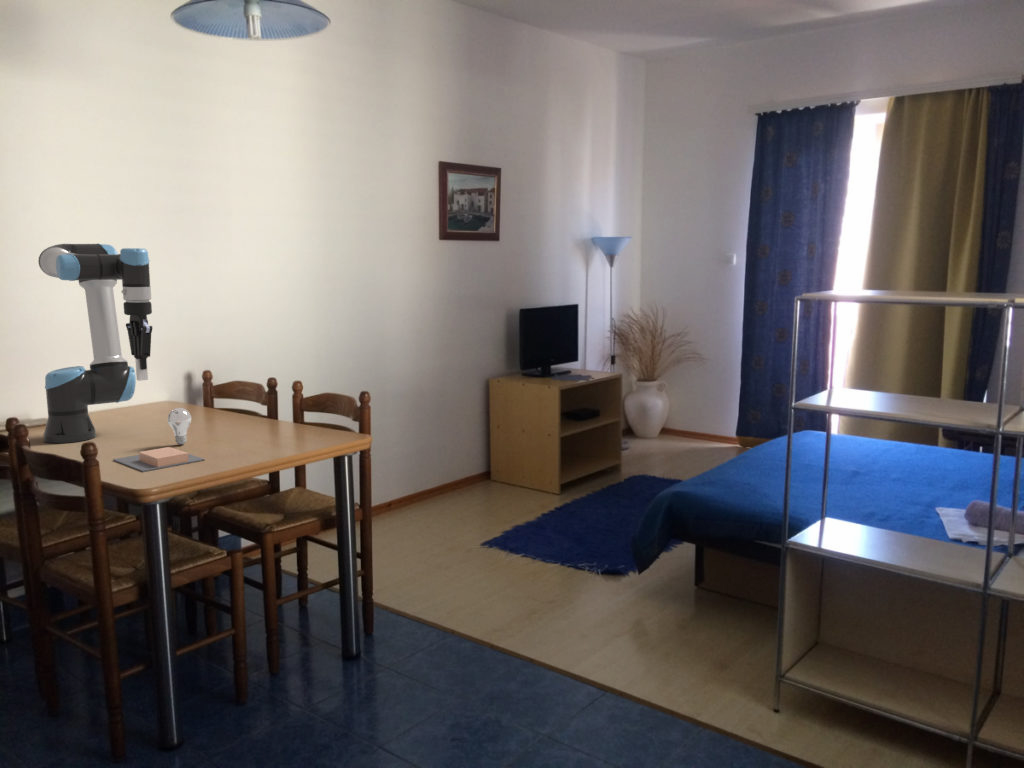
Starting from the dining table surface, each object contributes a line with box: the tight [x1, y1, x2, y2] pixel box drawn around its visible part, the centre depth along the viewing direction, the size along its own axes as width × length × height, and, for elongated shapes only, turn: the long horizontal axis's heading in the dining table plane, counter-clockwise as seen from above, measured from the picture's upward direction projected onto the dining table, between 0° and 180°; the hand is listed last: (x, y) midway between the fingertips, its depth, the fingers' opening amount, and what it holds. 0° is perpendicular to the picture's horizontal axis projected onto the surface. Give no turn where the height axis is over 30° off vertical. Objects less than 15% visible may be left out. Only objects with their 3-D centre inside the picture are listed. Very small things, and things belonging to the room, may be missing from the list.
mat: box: [113, 453, 205, 473], centre depth 241 cm, size 20×18×1 cm
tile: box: [138, 446, 189, 467], centre depth 238 cm, size 2×9×12 cm
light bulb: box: [167, 407, 192, 446], centre depth 260 cm, size 7×7×12 cm
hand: (142, 379), depth 246 cm, fingers closed
